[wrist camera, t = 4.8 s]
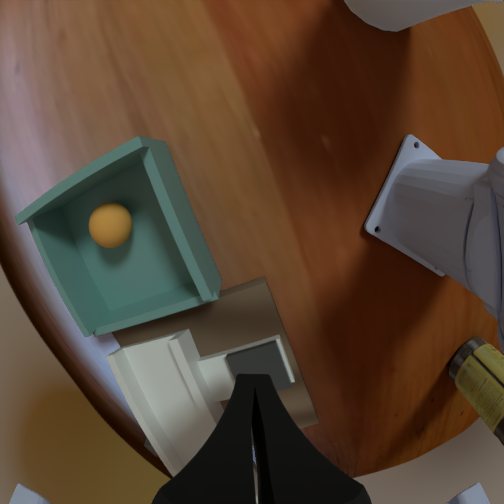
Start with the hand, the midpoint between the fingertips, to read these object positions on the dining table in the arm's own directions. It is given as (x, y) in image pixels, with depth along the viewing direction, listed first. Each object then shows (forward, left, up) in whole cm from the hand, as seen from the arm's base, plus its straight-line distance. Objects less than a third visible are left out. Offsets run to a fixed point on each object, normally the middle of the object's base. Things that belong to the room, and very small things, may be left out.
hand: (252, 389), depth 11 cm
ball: (+11, -1, -8) cm, 13 cm away
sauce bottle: (-27, -2, -10) cm, 29 cm away
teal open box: (+9, 0, -10) cm, 13 cm away
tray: (-3, +8, -5) cm, 10 cm away
